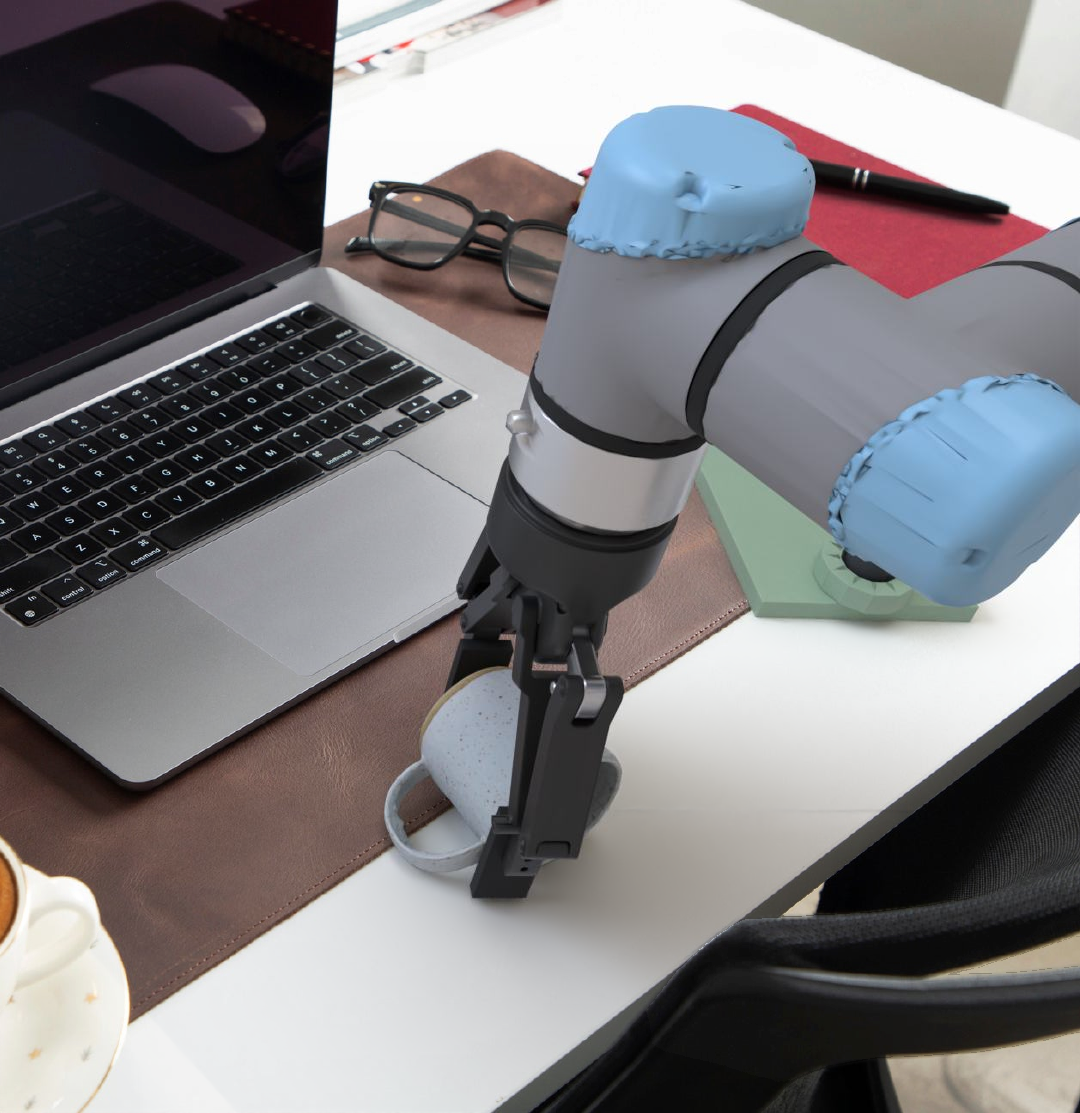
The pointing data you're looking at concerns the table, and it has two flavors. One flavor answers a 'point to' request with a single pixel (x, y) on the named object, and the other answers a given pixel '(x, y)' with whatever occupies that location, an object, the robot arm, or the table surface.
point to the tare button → (866, 569)
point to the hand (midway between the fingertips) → (478, 804)
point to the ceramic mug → (476, 765)
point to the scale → (798, 557)
